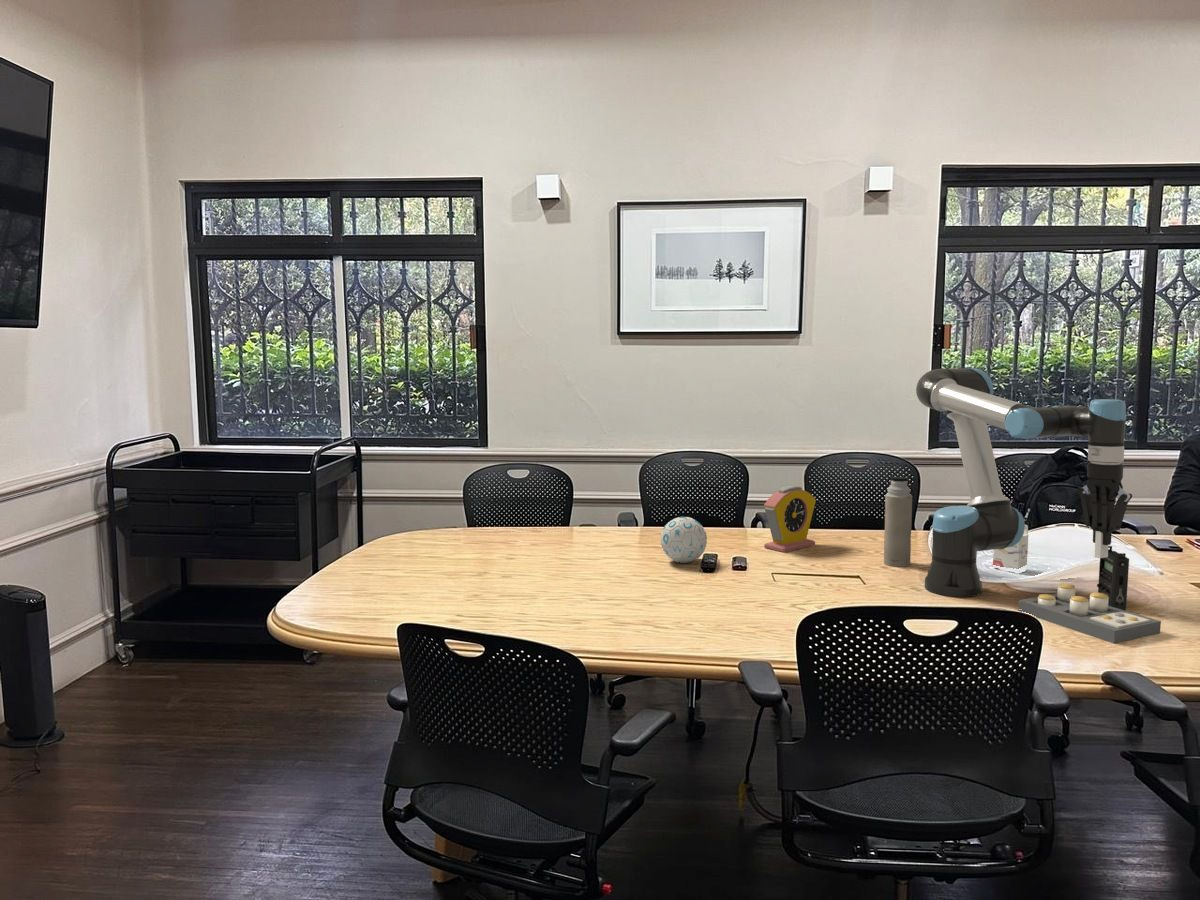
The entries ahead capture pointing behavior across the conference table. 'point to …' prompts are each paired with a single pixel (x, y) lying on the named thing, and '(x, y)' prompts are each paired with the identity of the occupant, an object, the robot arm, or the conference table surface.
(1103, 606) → the yellow topped white button
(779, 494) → the yellow mantel clock
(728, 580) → the conference table surface
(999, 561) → the ink cartridge box
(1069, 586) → the button
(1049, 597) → the button
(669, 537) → the puzzle ball
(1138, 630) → the button board
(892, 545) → the thermos bottle
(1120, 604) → the geiger counter
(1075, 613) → the white jar yellow lid
